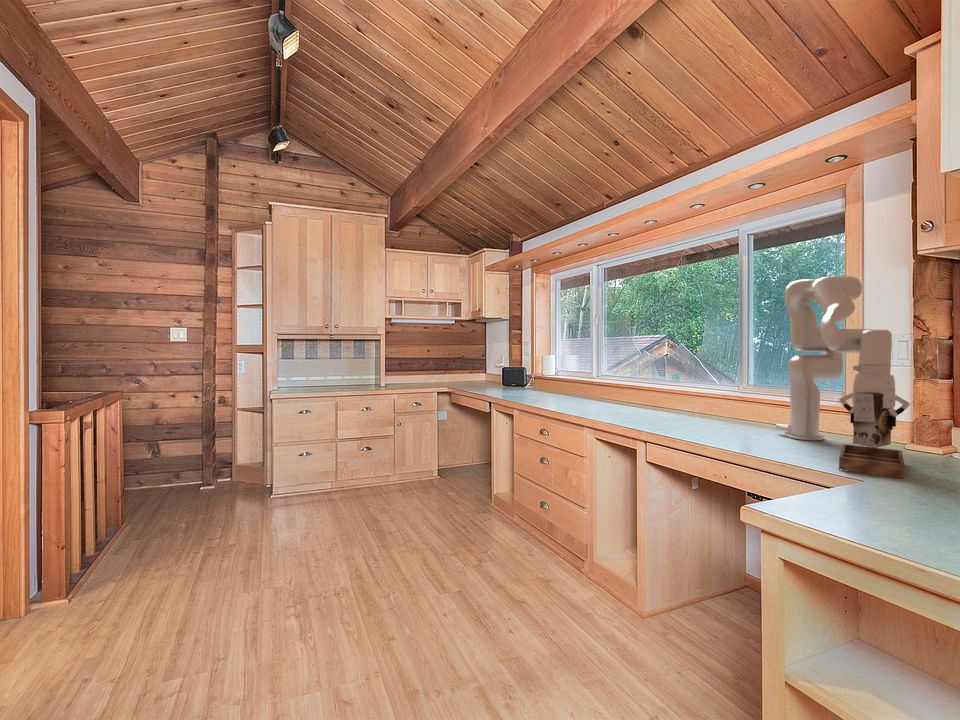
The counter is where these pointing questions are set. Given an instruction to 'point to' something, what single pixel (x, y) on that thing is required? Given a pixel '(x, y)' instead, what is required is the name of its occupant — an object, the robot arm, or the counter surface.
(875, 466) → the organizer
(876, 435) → the coffee box
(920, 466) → the counter surface
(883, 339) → the robot arm
